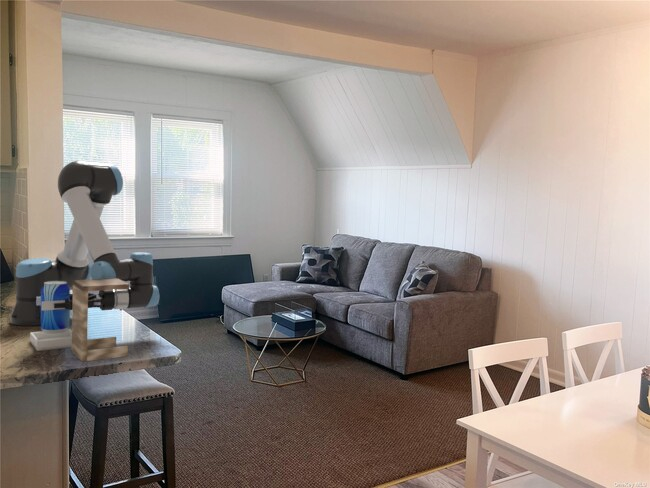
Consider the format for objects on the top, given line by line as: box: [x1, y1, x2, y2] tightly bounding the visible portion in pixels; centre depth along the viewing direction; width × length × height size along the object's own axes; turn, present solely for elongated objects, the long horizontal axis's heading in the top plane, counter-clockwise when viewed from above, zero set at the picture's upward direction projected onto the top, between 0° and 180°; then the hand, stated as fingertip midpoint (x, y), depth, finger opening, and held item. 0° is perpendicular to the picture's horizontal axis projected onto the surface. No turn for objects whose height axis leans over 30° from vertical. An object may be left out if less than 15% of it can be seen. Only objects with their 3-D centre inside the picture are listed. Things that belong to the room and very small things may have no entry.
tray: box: [29, 328, 72, 351], centre depth 181 cm, size 12×12×3 cm
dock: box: [71, 278, 130, 362], centre depth 173 cm, size 14×13×22 cm
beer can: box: [40, 281, 71, 334], centre depth 180 cm, size 8×8×16 cm
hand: (39, 303), depth 177 cm, fingers closed on beer can, 8 cm apart
